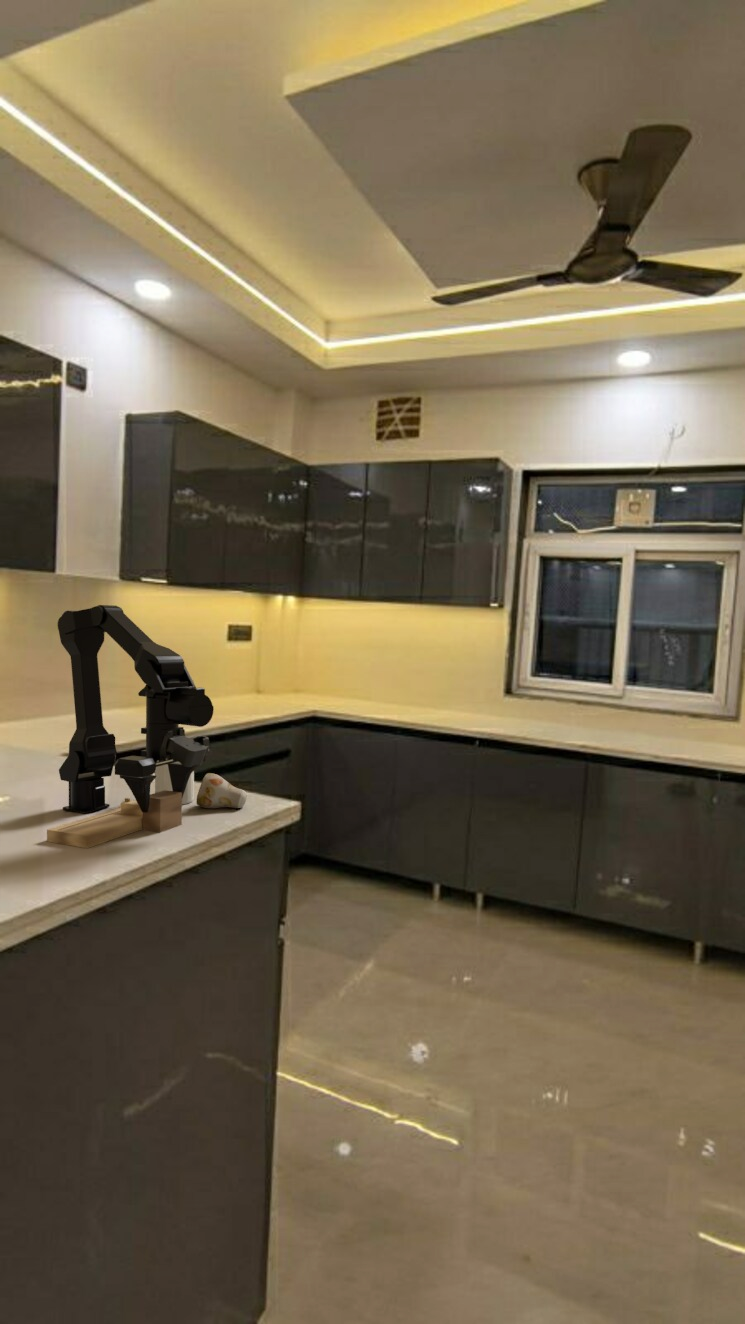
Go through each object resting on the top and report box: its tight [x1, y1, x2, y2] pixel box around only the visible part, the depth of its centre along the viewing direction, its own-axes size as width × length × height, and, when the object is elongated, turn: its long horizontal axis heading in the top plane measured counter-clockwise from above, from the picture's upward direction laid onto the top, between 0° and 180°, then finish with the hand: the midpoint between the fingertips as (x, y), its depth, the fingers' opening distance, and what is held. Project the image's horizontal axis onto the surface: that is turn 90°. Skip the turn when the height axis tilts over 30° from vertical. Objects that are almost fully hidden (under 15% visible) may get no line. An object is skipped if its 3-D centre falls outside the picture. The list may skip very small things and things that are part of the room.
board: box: [46, 807, 143, 849], centre depth 135 cm, size 9×22×2 cm, turn 156°
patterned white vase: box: [196, 772, 248, 809], centre depth 153 cm, size 8×10×10 cm
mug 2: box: [154, 764, 195, 806], centre depth 159 cm, size 12×8×10 cm, turn 12°
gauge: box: [120, 790, 183, 833], centre depth 138 cm, size 11×6×6 cm, turn 66°
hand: (162, 806), depth 137 cm, fingers open, 9 cm apart
